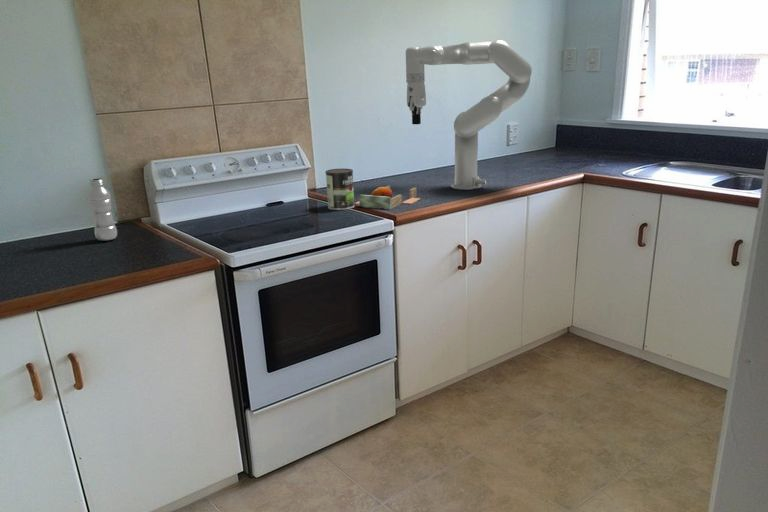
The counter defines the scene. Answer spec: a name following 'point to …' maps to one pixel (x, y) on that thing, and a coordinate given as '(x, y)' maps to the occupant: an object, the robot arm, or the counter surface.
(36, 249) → the counter surface
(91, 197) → the plastic bottle
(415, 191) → the trap box
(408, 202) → the trap marks
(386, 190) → the fruit
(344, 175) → the coffee can
